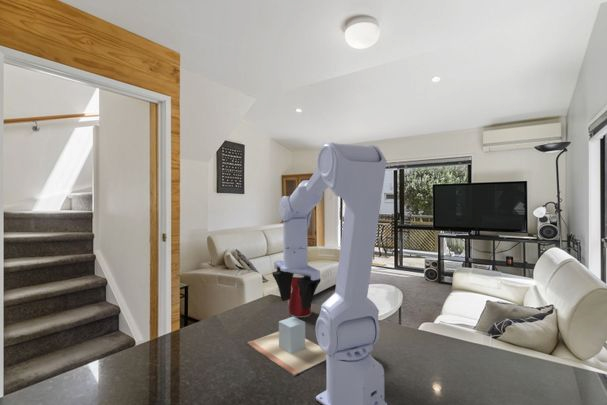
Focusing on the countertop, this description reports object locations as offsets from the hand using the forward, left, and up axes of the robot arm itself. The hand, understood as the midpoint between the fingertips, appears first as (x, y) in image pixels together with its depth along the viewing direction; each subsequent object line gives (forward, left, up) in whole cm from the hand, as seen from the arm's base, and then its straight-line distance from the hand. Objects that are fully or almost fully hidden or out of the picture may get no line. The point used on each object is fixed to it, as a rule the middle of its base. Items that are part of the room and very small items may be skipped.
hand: (295, 304), depth 74 cm
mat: (-1, +3, -10) cm, 10 cm away
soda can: (+14, -13, -10) cm, 22 cm away
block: (-1, +2, -10) cm, 10 cm away
